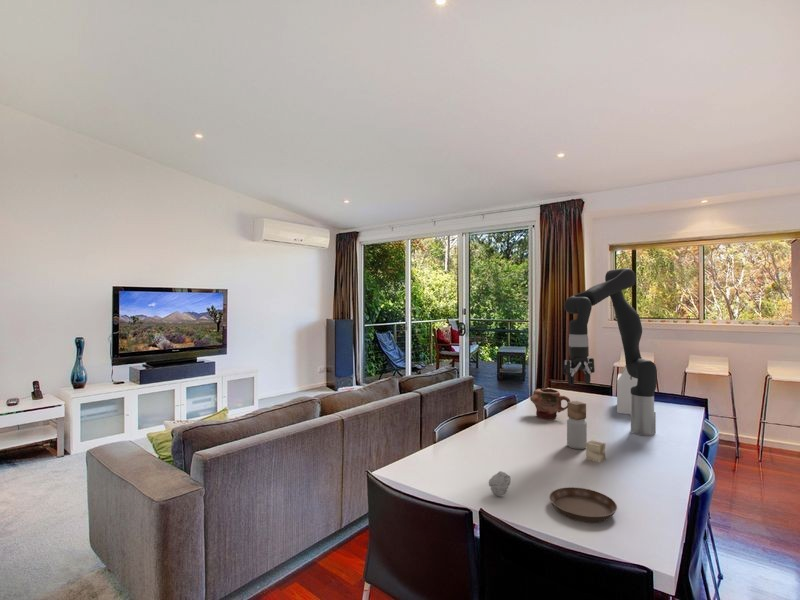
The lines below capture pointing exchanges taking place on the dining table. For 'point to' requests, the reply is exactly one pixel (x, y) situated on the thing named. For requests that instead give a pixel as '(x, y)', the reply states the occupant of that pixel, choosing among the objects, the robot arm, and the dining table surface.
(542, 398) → the clay jug
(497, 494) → the grey lumpy rounded piece
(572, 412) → the walnut block
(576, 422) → the can
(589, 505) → the plant saucer
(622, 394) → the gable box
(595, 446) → the maple block
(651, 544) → the dining table surface
